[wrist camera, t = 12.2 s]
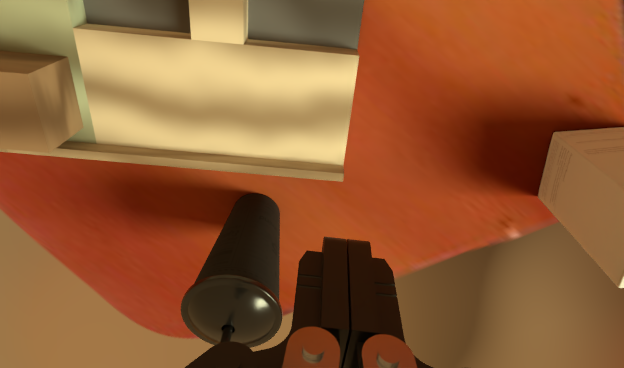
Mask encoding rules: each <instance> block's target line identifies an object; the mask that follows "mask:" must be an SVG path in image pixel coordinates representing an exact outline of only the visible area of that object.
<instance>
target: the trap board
mask: <svg viewBox="0 0 624 368" xmlns="http://www.w3.org/2000/svg"><path fill="white" fill-rule="evenodd" d="M363 4H364V0H0V51H10V52H21V53H31V54H42V55H53V56H64V57H68V59H69V64H70V68H71V73H72V77H73V82H74V86H75V91H76V95H77V100H78V104H79V109H80V113H81V118H82V122H83V127H84V128H82V129H81V130H80V131H78V132H77V133H76V134H74V135H73V136H72V137H70V138H69V139H68V140H66V141H65V142H64V143H62V144H61V145H60V146H58V147H57V148H56V149H54V150H53V151H52V152H50V153H45V152H33V151H22V150H10V149H0V152H11V153H23V154H34V155H45V156H57V157H68V158H80V159H91V160H102V161H114V162H125V163H136V164H148V165H159V166H171V167H182V168H193V169H205V170H216V171H228V172H239V173H250V174H262V175H273V176H285V177H296V178H307V179H319V180H330V181H342V182H343V177H344V168H343V164H344V157H345V150H346V143H347V136H348V129H349V123H350V116H351V109H352V102H353V95H354V88H355V81H356V75H357V68H358V61H359V54H358V51H357V47H358V40H359V33H360V26H361V19H362V12H363Z"/></svg>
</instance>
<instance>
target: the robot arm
mask: <svg viewBox="0 0 624 368" xmlns="http://www.w3.org/2000/svg"><path fill="white" fill-rule="evenodd" d="M396 296H397V294H396V288H395V282H394V276H393V271H392V270H391V268H390V267H389V265H388V264H387V262H386V261H385V259H379V258H372V255H371V246H370V242H368V241H359V240H350V239H347V242H346V239H340V238H331V237H324V240H323V247H322V252H315V251H306V253H305V254H304V255H303V257H302V258H301V259H300V261H299V268H298V277H297V286H296V294H295V303H294V312H293V321H292V327H291V331H290V333H289V335H288V336H287V337H286V339H285V340H284V341H282V342H281V343H280V344H278V345H277V346H275V347H272V348H269V349H265V350H260V351H255V352H253V351H252V350H251V349H250V348H249V347H247V346H246V345H244V344H242V343H239V342H234V341H228V342H222V343H219V344H217V345H215V346H213V347H212V348H210V349H209V350H207V351H206V352H205V353H203V354H202V355H201V356H199V357H198V358H197V359H195V360H194V361H193V362H191V363H190V364H189V365H188V366H186V367H185V368H433V367H430V366H428V365H426V364H425V363H423V362H421V361H420V360H419V359H417V358H416V357H415V356H414V355H413V353H412V351H411V349H410V348H409V347H408V346H407V345H406V343H405V340H404V335H403V329H402V323H401V317H400V312H399V306H398V300H397V297H396Z"/></svg>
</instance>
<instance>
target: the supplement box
mask: <svg viewBox="0 0 624 368" xmlns="http://www.w3.org/2000/svg"><path fill="white" fill-rule="evenodd" d="M538 198H539V199H540V200H541V201H542V202H543V203H544V205H545V206H546V207H547V208H548V209H549V210H550V211H551V213H552V214H553V215H554V216H555V217H556V218H557V219H558V220H559V221H560V223H561V224H562V225H563V226H564V227H565V228H566V229H567V230H568V232H569V233H570V234H571V235H572V236H573V237H574V238H575V239H576V241H577V242H578V243H579V244H580V245H581V246H582V247H583V249H584V250H585V251H586V252H587V253H588V254H589V255H590V256H591V257H592V258H593V260H594V261H595V262H596V263H597V264H598V265H599V266H600V268H601V269H602V270H603V271H604V272H605V273H606V274H607V275H608V277H609V278H610V279H611V280H612V281H613V282H614V283H615V284H616V286H617V287H619V288H624V127H617V128H603V129H589V130H576V131H562V132H554V133H553V136H552V139H551V143H550V147H549V151H548V155H547V159H546V163H545V167H544V171H543V176H542V179H541V184H540V187H539V193H538Z"/></svg>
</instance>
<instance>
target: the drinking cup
mask: <svg viewBox="0 0 624 368" xmlns="http://www.w3.org/2000/svg"><path fill="white" fill-rule="evenodd" d="M279 236H280V212H279V208H278V206H277V205H276V203H275V202H274V201H273V200H272V199H271V198H269V197H267V196H265V195H262V194H248V195H245V196H243V197H241V198H240V199H239V200H238V201H237V202H236V204H235V206H234V208H233V210H232V211H231V213H230V215H229V217H228V219H227V221H226V223H225V225H224V227H223V229H222V231H221V233H220V235H219V237H218V239H217V241H216V242H215V244H214V246H213V248H212V250H211V252H210V254H209V256H208V258H207V260H206V262H205V264H204V266H203V268H202V270H201V272H200V273H199V275H198V277H197V279H196V281H195V283H194V284H193V285H192V286H191V287H190V288H189V289H188V290H187V292H186V293H185V295H184V297H183V300H182V303H181V315H182V318H183V321H184V322H185V324H186V326H187V327H188V328H189V329H190V331H191V332H192V333H194V334H195V335H196V336H197V337H199V338H200V339H202V340H204V341H206V342H208V343H210V344H213V345H217V344H219V343H222V342H228V341H234V342H239V343H242V344H244V345H246V346H247V347H249V348H250V347H254V346H258V345H261V344H262V343H265V342H267V341H268V340H270V339H271V338H272V337H273V336H274V335H275V334H276V333H277V331H278V330H279V328H280V326H281V322H282V308H281V305H280V302H279Z"/></svg>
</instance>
